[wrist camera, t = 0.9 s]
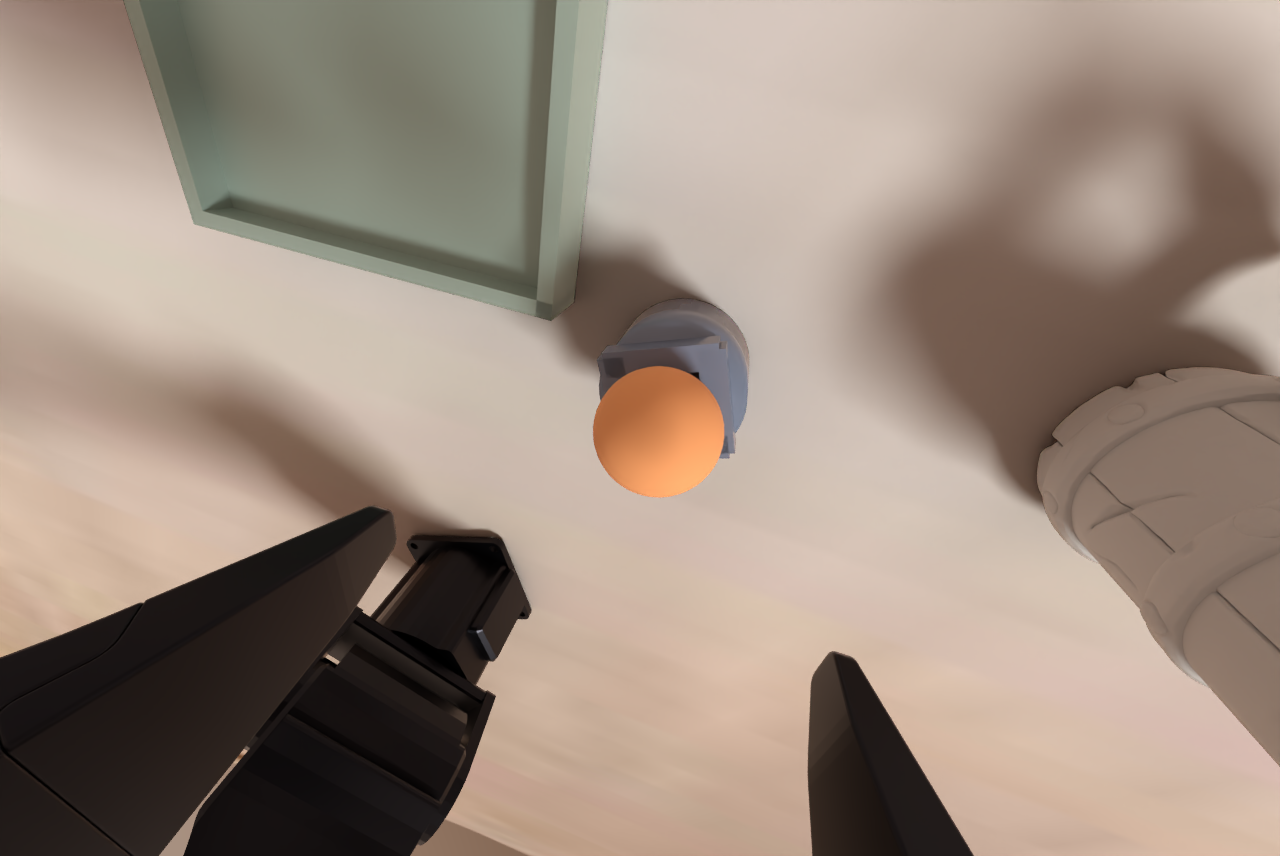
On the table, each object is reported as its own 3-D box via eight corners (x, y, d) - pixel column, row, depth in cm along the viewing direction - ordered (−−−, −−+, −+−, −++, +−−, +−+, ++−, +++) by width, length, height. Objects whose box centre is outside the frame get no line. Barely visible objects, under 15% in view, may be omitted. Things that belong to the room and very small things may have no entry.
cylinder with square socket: (633, 421, 21) (609, 471, 18) (610, 306, 18) (577, 340, 15) (752, 415, 19) (751, 470, 16) (745, 290, 17) (741, 324, 14)
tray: (251, 216, 20) (194, 224, 18) (157, -155, 14) (58, -205, 12) (574, 302, 19) (551, 320, 17) (615, -68, 13) (588, -108, 11)
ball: (624, 452, 17) (592, 524, 14) (602, 351, 16) (559, 407, 12) (732, 449, 16) (725, 526, 13) (723, 341, 14) (711, 399, 11)
